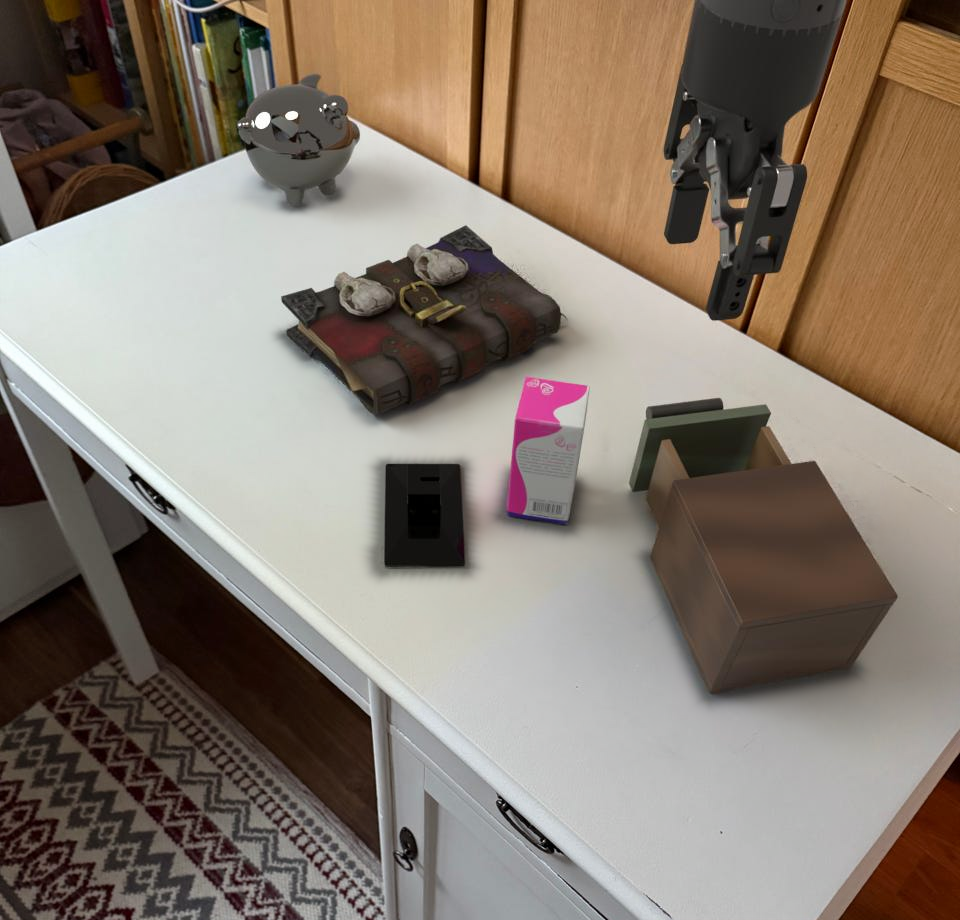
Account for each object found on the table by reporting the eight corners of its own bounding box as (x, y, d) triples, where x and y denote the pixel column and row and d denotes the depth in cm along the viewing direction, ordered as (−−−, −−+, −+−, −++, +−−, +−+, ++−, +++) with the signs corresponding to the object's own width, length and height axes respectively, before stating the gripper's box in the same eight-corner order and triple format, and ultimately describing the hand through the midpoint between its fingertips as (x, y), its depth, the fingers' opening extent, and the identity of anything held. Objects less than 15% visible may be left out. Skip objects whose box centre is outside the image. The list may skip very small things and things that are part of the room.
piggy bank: (380, 195, 115) (377, 97, 106) (267, 226, 110) (253, 126, 101) (339, 152, 121) (332, 55, 111) (229, 180, 115) (212, 81, 106)
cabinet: (649, 557, 83) (672, 479, 76) (779, 537, 86) (815, 460, 78) (709, 693, 75) (742, 623, 68) (851, 668, 77) (898, 596, 70)
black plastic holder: (465, 568, 82) (467, 533, 78) (381, 568, 81) (378, 533, 78) (460, 466, 89) (461, 429, 85) (382, 466, 88) (380, 428, 85)
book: (372, 430, 91) (367, 368, 85) (280, 333, 99) (271, 270, 93) (581, 337, 101) (590, 276, 95) (482, 256, 109) (485, 195, 103)
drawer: (614, 451, 90) (628, 386, 83) (724, 437, 92) (747, 372, 85) (678, 596, 80) (700, 534, 73) (801, 576, 82) (832, 514, 75)
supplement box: (575, 481, 88) (593, 383, 79) (567, 526, 85) (585, 431, 76) (514, 471, 89) (525, 373, 79) (504, 516, 85) (514, 419, 76)
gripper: (901, 49, 44) (795, 339, 57) (787, -63, 52) (717, 213, 66) (752, 57, 43) (679, 351, 56) (659, -59, 51) (614, 221, 64)
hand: (700, 276), depth 61 cm, fingers open, 8 cm apart
